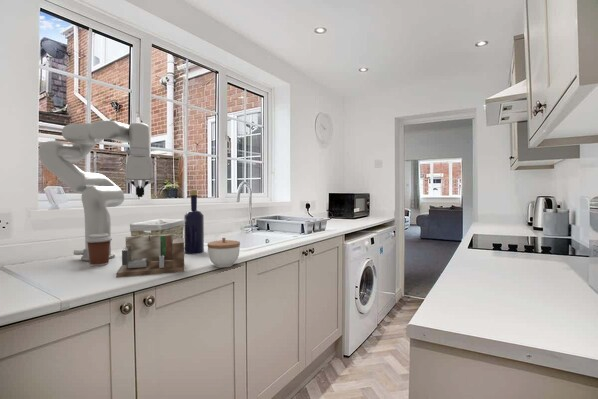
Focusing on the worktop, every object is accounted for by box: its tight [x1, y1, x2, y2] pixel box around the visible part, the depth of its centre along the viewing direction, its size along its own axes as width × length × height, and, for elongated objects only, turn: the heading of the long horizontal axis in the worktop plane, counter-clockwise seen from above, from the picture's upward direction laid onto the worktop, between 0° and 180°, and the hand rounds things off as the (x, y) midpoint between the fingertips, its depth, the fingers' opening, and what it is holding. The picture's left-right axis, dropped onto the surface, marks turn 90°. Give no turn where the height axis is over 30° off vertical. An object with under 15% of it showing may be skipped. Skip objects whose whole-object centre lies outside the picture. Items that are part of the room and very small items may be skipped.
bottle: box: [183, 189, 205, 255], centre depth 153 cm, size 9×9×30 cm
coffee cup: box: [84, 234, 113, 267], centre depth 129 cm, size 9×9×12 cm
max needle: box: [159, 241, 164, 268], centre depth 116 cm, size 2×1×10 cm
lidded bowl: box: [207, 237, 241, 268], centre depth 127 cm, size 13×13×11 cm
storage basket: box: [129, 218, 184, 238], centre depth 159 cm, size 24×16×15 cm
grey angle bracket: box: [121, 245, 148, 268], centre depth 117 cm, size 8×11×7 cm
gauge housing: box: [115, 234, 185, 278], centre depth 120 cm, size 22×15×12 cm
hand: (140, 196), depth 134 cm, fingers closed
